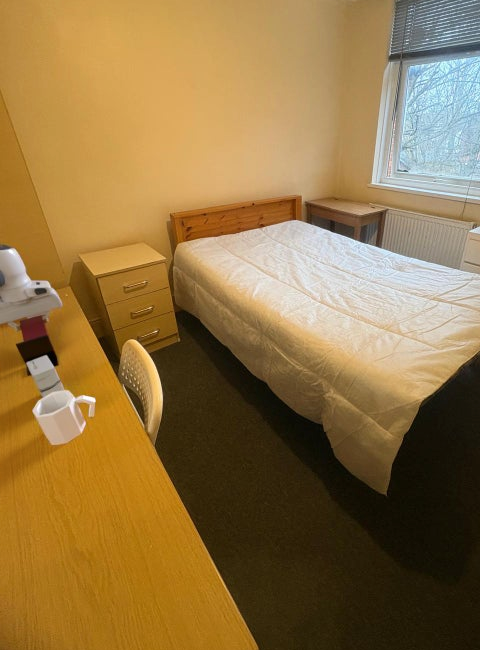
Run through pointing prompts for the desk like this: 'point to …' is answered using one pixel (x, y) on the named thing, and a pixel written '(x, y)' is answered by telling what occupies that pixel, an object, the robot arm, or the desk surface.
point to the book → (33, 328)
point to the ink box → (45, 375)
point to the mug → (62, 416)
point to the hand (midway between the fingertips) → (33, 325)
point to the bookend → (37, 350)
